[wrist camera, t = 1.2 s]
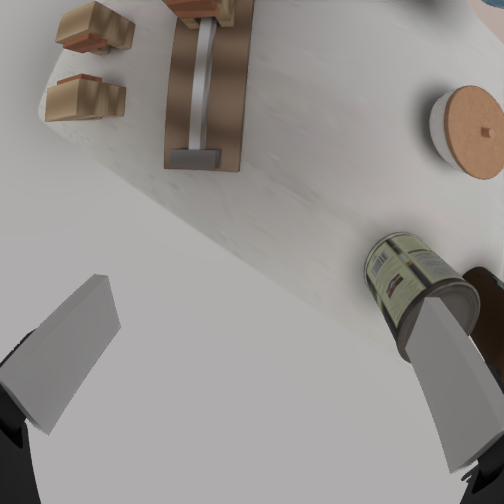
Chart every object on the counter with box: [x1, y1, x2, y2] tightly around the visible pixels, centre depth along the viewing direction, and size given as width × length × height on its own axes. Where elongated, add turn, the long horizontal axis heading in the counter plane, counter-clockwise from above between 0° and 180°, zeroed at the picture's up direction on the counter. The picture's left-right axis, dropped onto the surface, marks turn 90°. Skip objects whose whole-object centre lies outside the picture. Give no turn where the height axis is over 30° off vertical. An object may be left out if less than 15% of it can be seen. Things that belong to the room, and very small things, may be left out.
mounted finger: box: [162, 0, 237, 29], centre depth 18 cm, size 5×5×10 cm
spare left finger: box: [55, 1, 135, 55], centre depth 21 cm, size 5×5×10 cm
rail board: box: [164, 0, 255, 172], centre depth 25 cm, size 26×9×4 cm, turn 176°
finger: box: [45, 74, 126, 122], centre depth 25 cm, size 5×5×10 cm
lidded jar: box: [429, 86, 504, 180], centre depth 22 cm, size 11×11×9 cm
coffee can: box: [364, 232, 480, 364], centre depth 28 cm, size 10×10×14 cm
